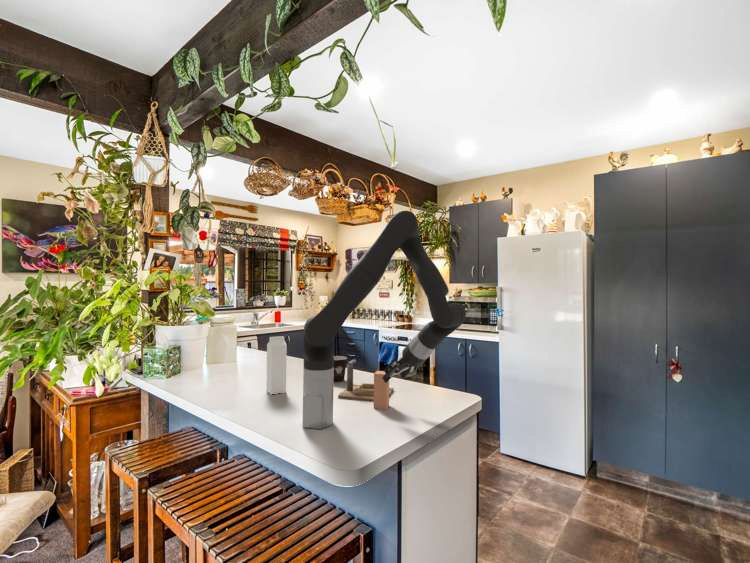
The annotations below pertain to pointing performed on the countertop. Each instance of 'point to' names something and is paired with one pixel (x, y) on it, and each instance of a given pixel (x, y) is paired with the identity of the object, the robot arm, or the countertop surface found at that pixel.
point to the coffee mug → (339, 368)
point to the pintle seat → (358, 387)
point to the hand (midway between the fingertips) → (393, 378)
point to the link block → (380, 391)
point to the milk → (276, 365)
